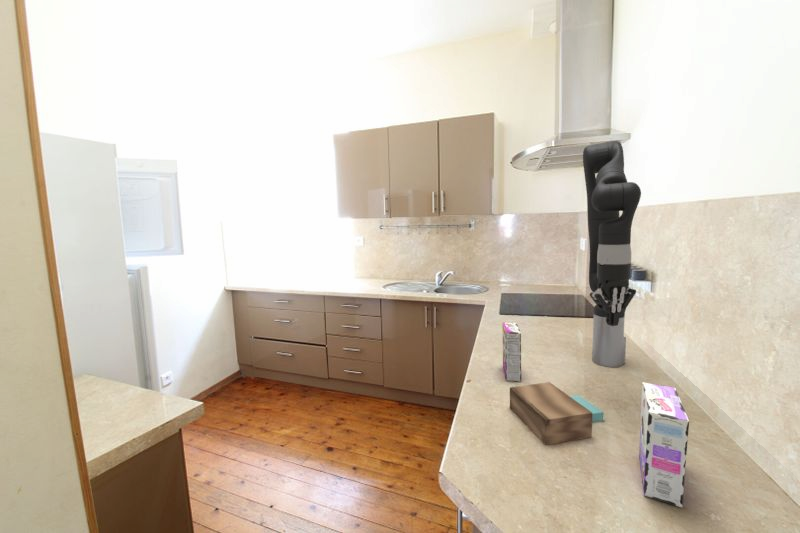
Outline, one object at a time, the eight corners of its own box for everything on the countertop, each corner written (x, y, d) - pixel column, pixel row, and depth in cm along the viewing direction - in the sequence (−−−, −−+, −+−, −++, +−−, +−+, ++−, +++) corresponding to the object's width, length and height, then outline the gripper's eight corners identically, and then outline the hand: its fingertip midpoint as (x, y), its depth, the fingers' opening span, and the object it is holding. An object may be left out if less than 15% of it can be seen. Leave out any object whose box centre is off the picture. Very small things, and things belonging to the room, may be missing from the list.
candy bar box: (501, 367, 119) (501, 321, 117) (516, 367, 118) (517, 322, 116) (505, 381, 108) (505, 331, 106) (521, 382, 107) (521, 332, 105)
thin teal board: (578, 404, 94) (578, 393, 94) (603, 422, 85) (603, 410, 85) (525, 412, 91) (525, 401, 91) (545, 431, 82) (546, 419, 82)
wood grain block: (549, 402, 95) (549, 382, 94) (591, 436, 79) (592, 412, 78) (509, 408, 92) (509, 387, 92) (545, 444, 77) (545, 420, 76)
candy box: (684, 509, 58) (690, 421, 56) (642, 496, 62) (647, 411, 60) (672, 461, 70) (677, 386, 68) (637, 452, 73) (641, 380, 71)
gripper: (622, 257, 93) (620, 318, 96) (581, 261, 90) (580, 324, 93) (647, 260, 86) (645, 326, 88) (604, 264, 83) (602, 332, 85)
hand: (612, 325), depth 90 cm, fingers closed
